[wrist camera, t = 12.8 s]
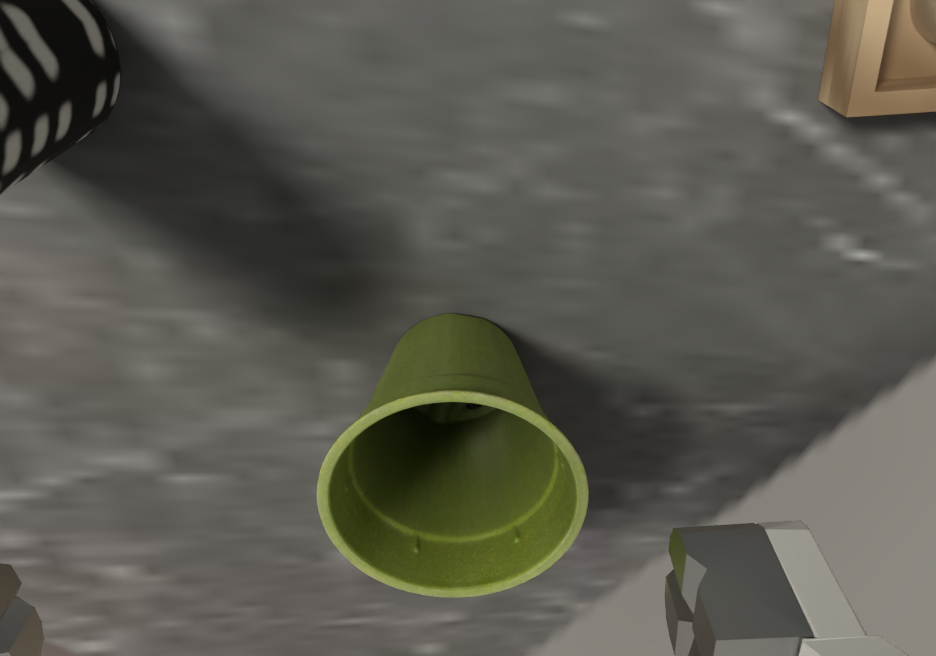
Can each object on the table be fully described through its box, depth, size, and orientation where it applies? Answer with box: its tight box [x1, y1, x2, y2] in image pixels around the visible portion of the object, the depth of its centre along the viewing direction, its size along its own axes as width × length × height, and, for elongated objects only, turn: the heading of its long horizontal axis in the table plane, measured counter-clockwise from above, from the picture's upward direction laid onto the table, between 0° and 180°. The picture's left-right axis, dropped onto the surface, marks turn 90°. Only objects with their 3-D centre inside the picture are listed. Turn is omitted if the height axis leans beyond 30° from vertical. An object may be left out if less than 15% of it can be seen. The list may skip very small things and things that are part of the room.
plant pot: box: [317, 313, 589, 597], centre depth 38 cm, size 12×12×11 cm
